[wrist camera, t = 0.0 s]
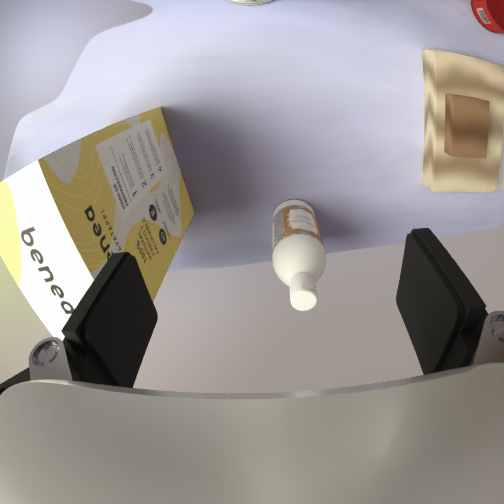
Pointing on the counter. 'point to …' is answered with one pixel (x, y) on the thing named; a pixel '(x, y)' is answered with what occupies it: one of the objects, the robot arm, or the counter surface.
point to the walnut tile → (466, 126)
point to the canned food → (489, 14)
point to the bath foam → (298, 251)
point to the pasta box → (93, 214)
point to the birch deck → (436, 85)
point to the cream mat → (501, 166)
